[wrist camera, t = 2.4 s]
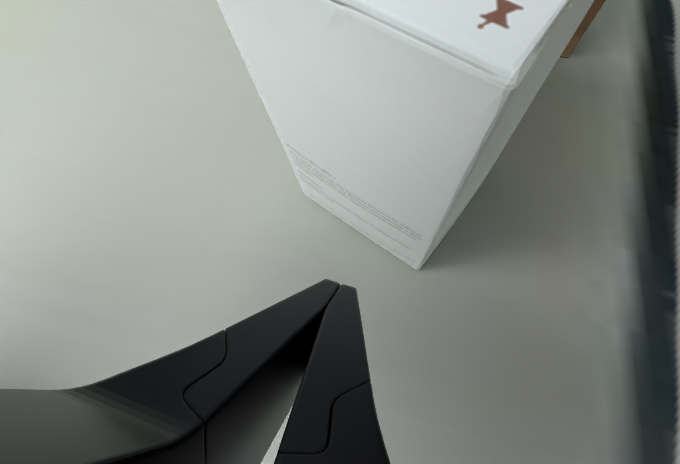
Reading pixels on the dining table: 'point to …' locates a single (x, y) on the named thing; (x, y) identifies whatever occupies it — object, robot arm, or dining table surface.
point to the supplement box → (398, 99)
